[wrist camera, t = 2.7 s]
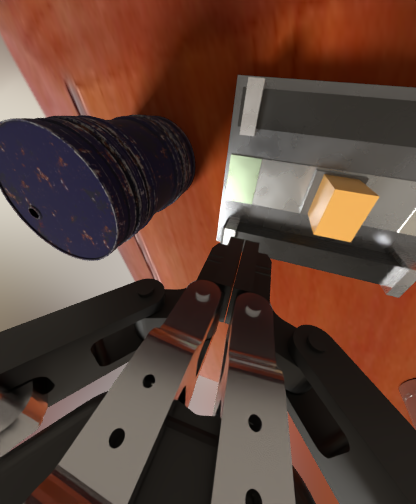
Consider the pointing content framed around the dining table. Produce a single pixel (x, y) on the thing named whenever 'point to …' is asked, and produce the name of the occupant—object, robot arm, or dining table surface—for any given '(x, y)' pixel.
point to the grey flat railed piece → (328, 159)
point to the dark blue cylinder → (92, 177)
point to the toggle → (338, 204)
